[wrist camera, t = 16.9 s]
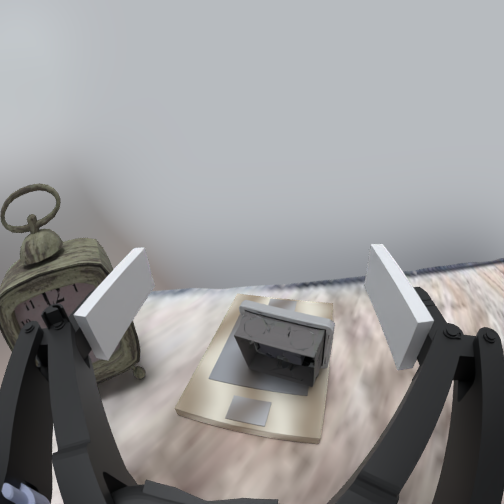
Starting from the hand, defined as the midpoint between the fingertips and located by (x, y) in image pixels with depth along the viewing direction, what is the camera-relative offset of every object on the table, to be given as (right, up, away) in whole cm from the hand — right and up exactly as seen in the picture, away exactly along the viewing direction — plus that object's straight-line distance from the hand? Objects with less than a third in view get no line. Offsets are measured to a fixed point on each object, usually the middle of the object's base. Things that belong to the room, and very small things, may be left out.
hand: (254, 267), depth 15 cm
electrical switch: (+4, -13, +13) cm, 19 cm away
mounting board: (+2, -12, +17) cm, 21 cm away
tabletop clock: (-20, -16, +14) cm, 29 cm away
